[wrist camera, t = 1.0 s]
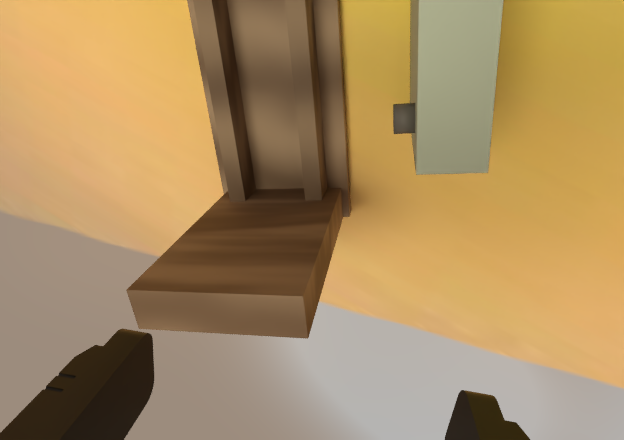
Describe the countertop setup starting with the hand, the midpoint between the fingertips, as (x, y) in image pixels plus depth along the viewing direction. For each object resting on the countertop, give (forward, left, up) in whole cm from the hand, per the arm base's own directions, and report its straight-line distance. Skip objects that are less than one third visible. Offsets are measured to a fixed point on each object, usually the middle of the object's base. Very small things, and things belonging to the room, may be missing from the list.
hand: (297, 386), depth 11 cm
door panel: (-7, +5, -23) cm, 24 cm away
